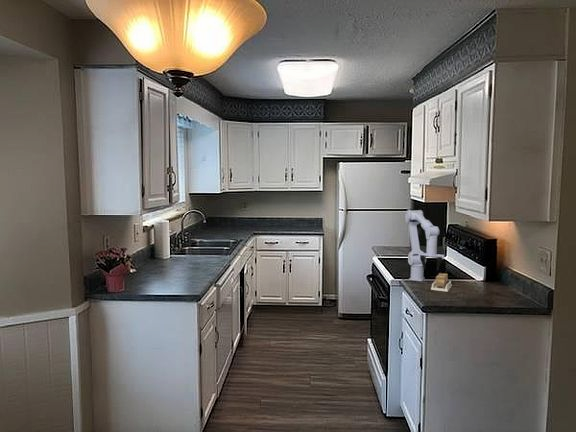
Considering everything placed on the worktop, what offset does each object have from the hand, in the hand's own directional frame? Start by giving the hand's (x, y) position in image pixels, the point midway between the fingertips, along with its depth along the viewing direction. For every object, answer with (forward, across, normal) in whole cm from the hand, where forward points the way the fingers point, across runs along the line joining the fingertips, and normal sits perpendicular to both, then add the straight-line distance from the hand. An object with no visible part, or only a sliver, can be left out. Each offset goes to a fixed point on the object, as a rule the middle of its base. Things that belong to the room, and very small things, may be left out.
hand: (430, 269), depth 265 cm
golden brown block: (+8, +6, 0) cm, 10 cm away
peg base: (+10, +6, 0) cm, 12 cm away
